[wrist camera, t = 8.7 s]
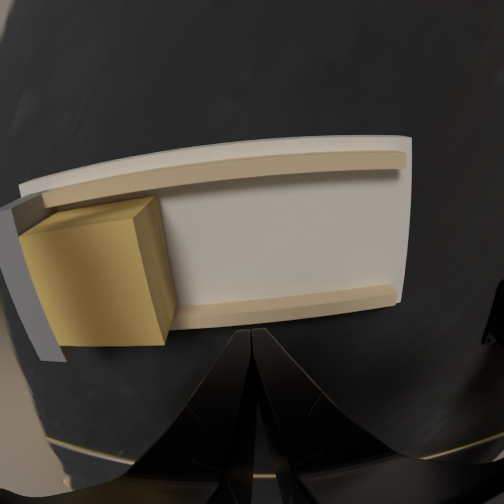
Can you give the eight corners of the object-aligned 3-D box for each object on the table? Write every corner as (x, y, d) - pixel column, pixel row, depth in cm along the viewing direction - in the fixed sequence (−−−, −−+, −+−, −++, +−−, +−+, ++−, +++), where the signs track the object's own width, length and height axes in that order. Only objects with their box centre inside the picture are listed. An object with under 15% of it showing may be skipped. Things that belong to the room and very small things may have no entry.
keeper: (156, 194, 15) (132, 218, 12) (177, 300, 18) (164, 344, 14) (58, 211, 15) (18, 236, 12) (85, 305, 18) (59, 345, 14)
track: (398, 135, 16) (454, 145, 11) (391, 290, 20) (428, 339, 15) (32, 179, 16) (-24, 203, 11) (72, 318, 20) (39, 368, 15)
